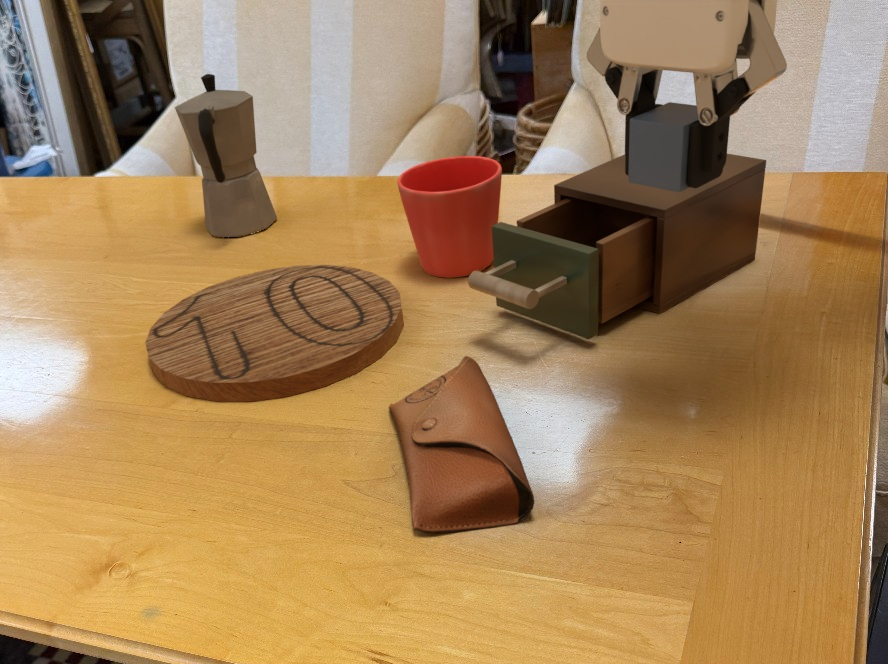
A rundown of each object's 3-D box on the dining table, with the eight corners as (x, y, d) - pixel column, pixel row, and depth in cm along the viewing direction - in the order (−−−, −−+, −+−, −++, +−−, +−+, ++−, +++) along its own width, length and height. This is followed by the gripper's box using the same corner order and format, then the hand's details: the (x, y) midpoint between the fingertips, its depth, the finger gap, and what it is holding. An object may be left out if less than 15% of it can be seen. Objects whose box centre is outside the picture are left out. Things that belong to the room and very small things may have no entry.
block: (666, 164, 64) (669, 101, 62) (718, 173, 62) (723, 108, 59) (627, 182, 62) (629, 118, 60) (679, 192, 60) (683, 126, 57)
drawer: (547, 363, 76) (544, 275, 71) (455, 326, 84) (448, 244, 79) (687, 285, 84) (693, 201, 80) (592, 257, 92) (592, 180, 87)
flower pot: (392, 283, 96) (379, 191, 90) (428, 242, 103) (419, 155, 98) (488, 287, 92) (482, 191, 86) (519, 244, 99) (515, 154, 94)
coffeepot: (213, 212, 122) (177, 67, 111) (282, 202, 121) (252, 56, 111) (195, 256, 110) (153, 98, 99) (272, 246, 109) (238, 86, 98)
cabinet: (659, 314, 82) (665, 210, 77) (555, 281, 91) (553, 184, 85) (755, 259, 89) (766, 159, 83) (650, 233, 97) (653, 141, 92)
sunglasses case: (380, 402, 75) (413, 332, 72) (456, 426, 77) (491, 359, 74) (412, 536, 61) (456, 456, 57) (504, 560, 63) (551, 485, 60)
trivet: (188, 433, 76) (182, 414, 75) (126, 327, 95) (121, 311, 94) (450, 343, 83) (448, 324, 82) (344, 261, 102) (341, 245, 101)
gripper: (873, -175, 47) (820, 178, 58) (614, -149, 58) (610, 143, 69) (791, -155, 44) (751, 216, 55) (533, -131, 55) (543, 173, 66)
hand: (672, 172), depth 62 cm, fingers closed on block, 4 cm apart
